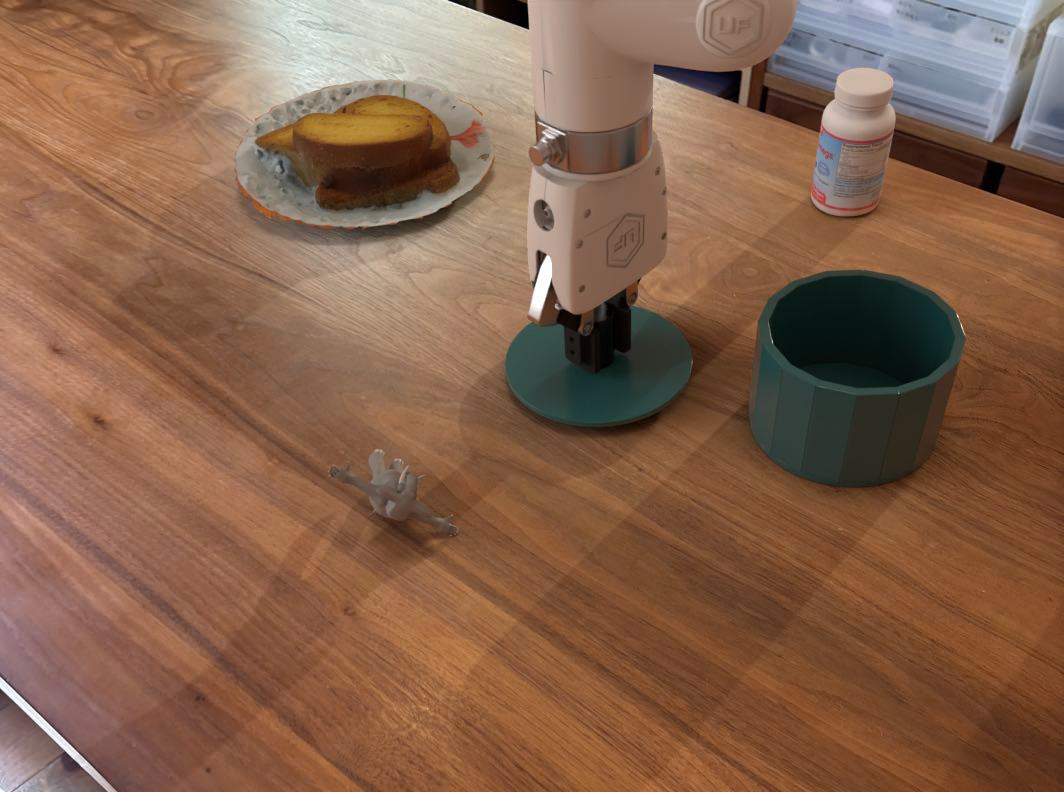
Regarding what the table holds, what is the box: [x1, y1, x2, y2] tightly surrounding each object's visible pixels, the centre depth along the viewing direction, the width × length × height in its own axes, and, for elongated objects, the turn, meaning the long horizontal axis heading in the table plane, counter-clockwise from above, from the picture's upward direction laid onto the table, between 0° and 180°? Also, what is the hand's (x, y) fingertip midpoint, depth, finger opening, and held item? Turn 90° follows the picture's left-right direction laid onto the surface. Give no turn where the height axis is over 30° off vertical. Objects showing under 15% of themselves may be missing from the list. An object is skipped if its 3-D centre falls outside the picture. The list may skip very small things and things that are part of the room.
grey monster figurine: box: [327, 448, 460, 537], centre depth 76 cm, size 10×6×9 cm
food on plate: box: [234, 78, 496, 231], centre depth 107 cm, size 25×25×7 cm
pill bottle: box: [810, 67, 897, 217], centre depth 96 cm, size 6×6×11 cm
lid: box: [504, 302, 693, 428], centre depth 84 cm, size 14×14×6 cm
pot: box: [747, 269, 967, 488], centre depth 78 cm, size 13×13×8 cm
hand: (598, 353), depth 85 cm, fingers closed on lid, 2 cm apart
